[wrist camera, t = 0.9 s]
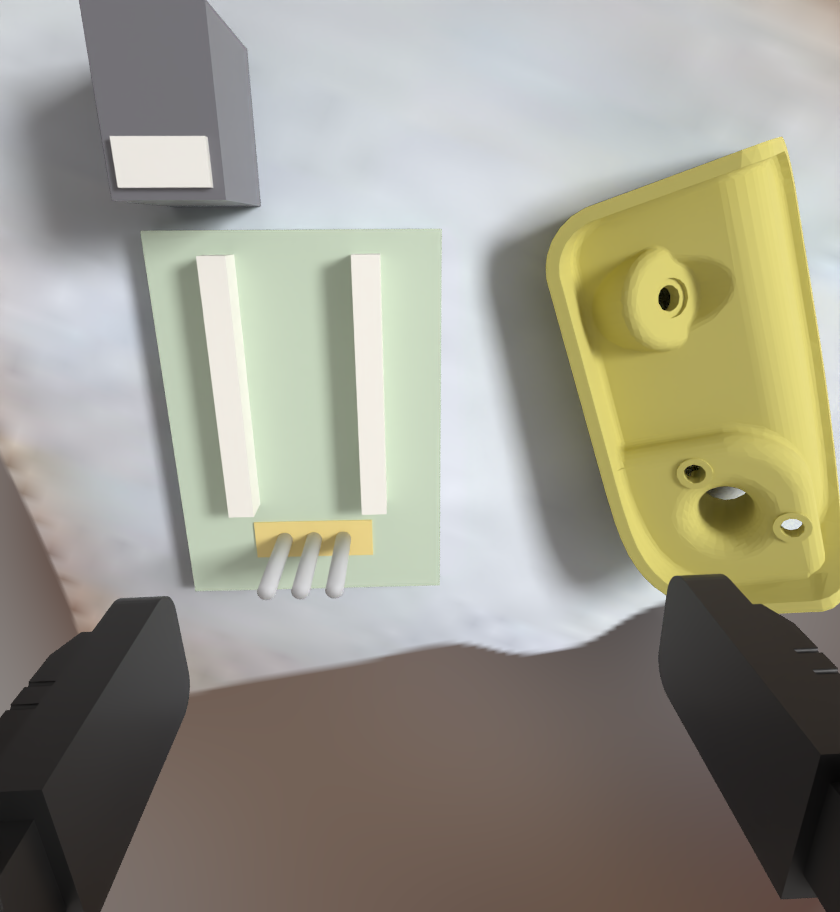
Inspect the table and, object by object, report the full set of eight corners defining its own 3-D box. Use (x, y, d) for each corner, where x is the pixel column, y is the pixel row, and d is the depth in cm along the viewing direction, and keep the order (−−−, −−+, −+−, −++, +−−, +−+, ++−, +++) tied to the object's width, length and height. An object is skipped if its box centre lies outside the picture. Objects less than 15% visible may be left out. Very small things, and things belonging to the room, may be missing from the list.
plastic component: (531, 227, 26) (806, 126, 21) (567, 215, 32) (786, 135, 27) (640, 618, 31) (879, 610, 26) (653, 544, 37) (849, 526, 33)
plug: (149, 49, 25) (74, -6, 19) (247, 49, 25) (201, -5, 20) (170, 206, 27) (107, 200, 21) (260, 206, 28) (223, 199, 22)
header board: (150, 230, 28) (84, 231, 22) (439, 228, 28) (451, 228, 22) (201, 579, 34) (161, 651, 28) (438, 573, 34) (446, 644, 28)
